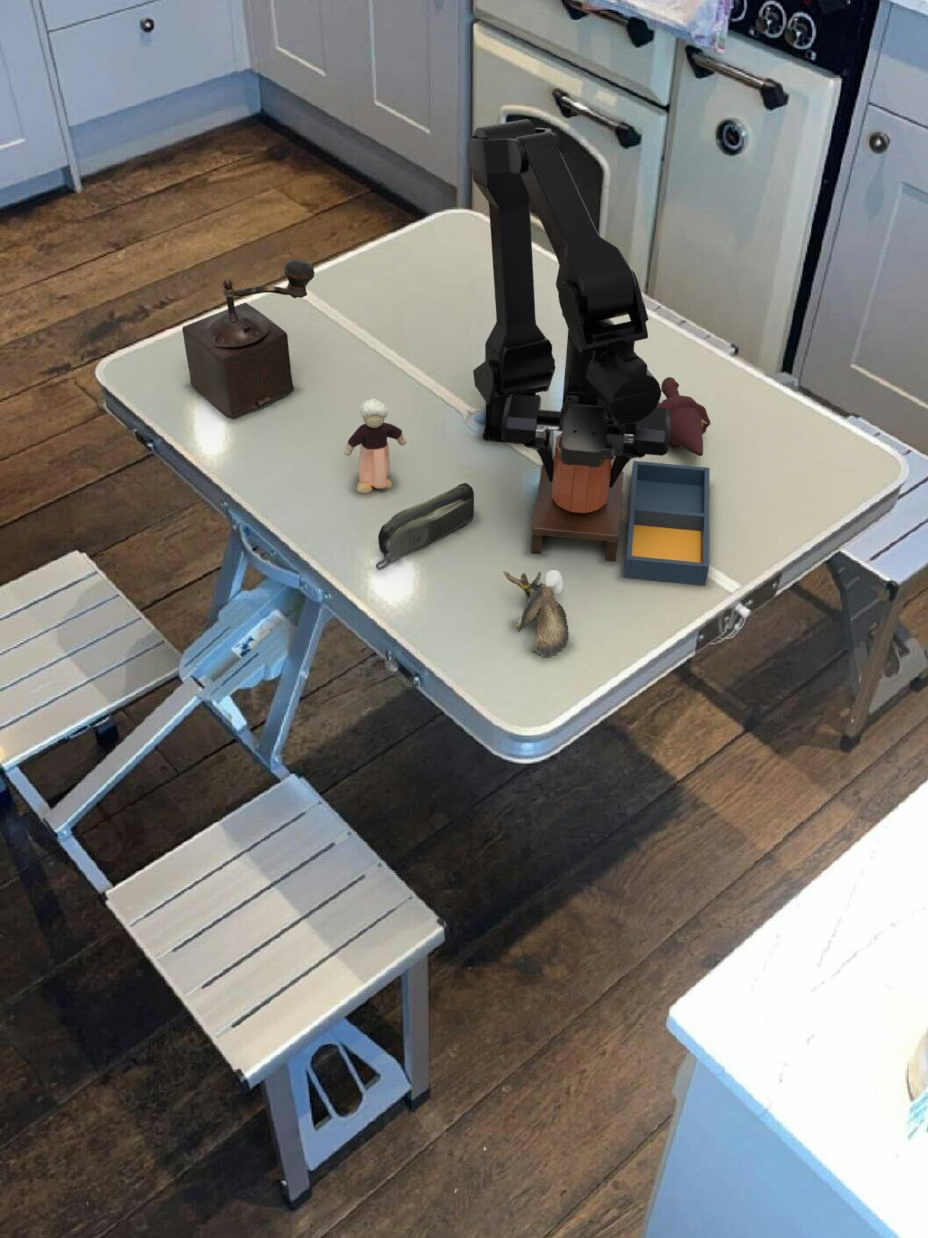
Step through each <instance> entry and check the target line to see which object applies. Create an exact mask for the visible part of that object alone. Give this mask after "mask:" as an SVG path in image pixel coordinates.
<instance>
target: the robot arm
mask: <svg viewBox="0 0 928 1238" xmlns="http://www.w3.org/2000/svg"><path fill="white" fill-rule="evenodd" d="M466 157H467V162H468V165H469V167H470V169H471V172H472V179H473V180H472V181H473V182H474V184H475V185H476V186H477V188H478V190H479V191H480V192H481V194H482V195H483V196H484V198H485V200H486V201H487V202H488V210H489V211H488V212H489V226H490V238H491V239H490V240H491V241H490V242H491V257H492V258H491V259H492V271H493V285H494V287H493V288H494V301H495V317H496V320H495V324H494V325H493V328H492V329H491V331H490V333H489V335H488V337H487V339H486V341H485V345H484V361H483V362H482V363H481V364H480V365H478V366H476V367H475V368H474V369H472V374H473V382H474V383H473V384H474V387H475V388H476V390H477V391H478V393H479V394H480V396H481V397H482V399H483V400H484V401H485V407H484V408H485V410H484V411H485V412H484V426H483V431H482V439H483V440H486V441H495V442H506V443H517V444H523V446H524V447H525V448H529V449H533V450H535V451H536V453H537V455H538V456H539V458H540V460H541V462H542V464H543V465H544V468H545V471H546V473H547V476H548V479H549V481H550V482H553V470H554V456H555V438H554V436H555V435H554V431H556V432H561V433H562V437H561V451H560V459H561V461H562V462H563V463H564V464H566V465H583V466H590V467H600V466H601V465H602V464H603V463H604V459H611V460H612V465H611V474H610V483H609V487H610V488H612V487H613V485H614V483H615V482H616V480H617V478H618V477H619V475H620V473H621V472H623V470H624V468H625V467H626V466H627V464H629V462H630V461H631V460H632V459H635V458H636V459H638V458H639V459H641V458H644V457H645V456H646V455H648V456H660V457H663V456H665V455H667V454H669V448H670V446H669V439H670V423H671V413H670V412H669V410H668V409H667V408H662V407H656V406H657V405H658V403H660V399H661V397H662V390H661V385H660V383H659V381H658V380H657V378H656V377H655V376H654V375H653V374H652V373H651V372H650V370H649V369H648V364H647V362H645V361H644V359H643V358H641V357H640V356H639V355H638V354H637V353H636V352H635V344H636V342H638V341H643V340H646V339H648V338H649V332H648V327H647V322H648V321H649V320H650V319H649V315H648V312H647V308H646V305H645V301H644V298H643V293H642V291H641V287H640V284H639V280H638V278H637V275H636V273H635V272H634V270H633V269H632V268H631V266H630V265H629V263H628V262H627V260H626V258H625V257H624V255H623V253H622V252H621V250H620V249H619V247H617V246H616V245H614V244H612V243H611V242H609V241H607V240H606V239H605V238H604V237H603V238H602V236H601V235H600V234H599V232H598V230H597V229H596V226H595V224H594V221H593V220H592V218H591V215H590V212H589V211H588V209H587V206H586V204H585V202H584V200H583V198H582V196H581V194H580V191H579V189H578V187H577V185H576V183H575V181H574V178H573V177H572V174H571V171H570V169H569V167H568V166H567V165H568V164H567V163H566V161H565V158H564V150H563V144H562V141H561V138H560V136H559V135H558V134H557V133H556V132H552V128H547V127H546V128H545V127H535V126H534V123H533V121H531V120H530V119H528V118H527V119H520V120H514V121H507V122H502V123H496V124H489V125H483V126H478V127H476V129H474V132H473V135H471V136H470V138H469V139H468V140H467V143H466ZM531 203H532V205H533V207H534V209H535V212H536V215H537V216H538V218H539V220H540V224H541V225H542V227H543V230H544V232H545V234H546V236H547V238H548V241H549V243H550V245H551V247H552V250H553V252H554V253H555V257H556V260H557V263H558V271H557V276H556V281H555V287H556V291H557V295H558V296H557V298H558V303H559V307H560V309H561V316H562V317H563V318H564V322H565V324H566V327H567V340H566V353H565V363H564V364H565V367H564V379H563V391H562V404H561V405H562V406H561V407H560V411H559V410H558V411H556V410H547V409H541V405H542V396H541V395H540V394H539V393H544V392H545V393H546V392H549V390H550V387H551V385H552V381H553V377H554V374H555V371H556V364H555V363H556V359H555V358H554V355H553V344H552V342H551V341H550V339H548V338H547V336H545V334H544V333H543V332H542V330H541V329H540V327H539V326H538V324H537V320H536V319H537V318H536V300H535V280H534V261H533V258H534V257H533V240H532V221H531V219H532V218H531ZM627 315H628V318H629V320H628V321H624V322H621V323H614V322H613V321H612V320H611V319H614V318H619V317H624V316H627ZM606 438H607V441H606Z"/></svg>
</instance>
